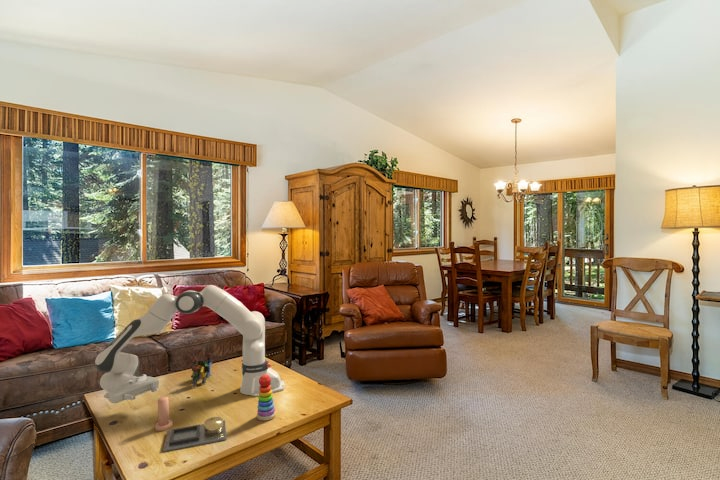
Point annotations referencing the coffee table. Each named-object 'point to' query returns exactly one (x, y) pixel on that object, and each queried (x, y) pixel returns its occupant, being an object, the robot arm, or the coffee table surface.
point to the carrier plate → (196, 434)
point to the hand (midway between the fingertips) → (144, 393)
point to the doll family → (202, 371)
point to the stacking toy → (265, 399)
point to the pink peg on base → (163, 415)
